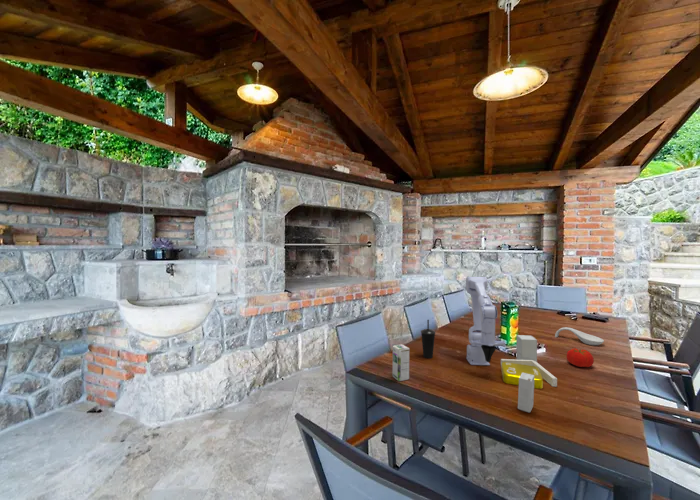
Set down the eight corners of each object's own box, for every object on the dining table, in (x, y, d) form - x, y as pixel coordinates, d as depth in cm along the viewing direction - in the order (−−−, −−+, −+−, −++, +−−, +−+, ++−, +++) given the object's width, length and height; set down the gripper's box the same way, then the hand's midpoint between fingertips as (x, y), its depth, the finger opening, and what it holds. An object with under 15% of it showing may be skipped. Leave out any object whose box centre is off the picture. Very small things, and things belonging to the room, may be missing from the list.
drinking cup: (435, 354, 163) (435, 318, 162) (435, 360, 156) (435, 322, 155) (421, 353, 166) (421, 317, 165) (420, 358, 158) (420, 321, 158)
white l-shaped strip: (518, 384, 129) (518, 377, 129) (500, 365, 149) (500, 359, 148) (556, 386, 128) (557, 378, 128) (534, 367, 147) (534, 360, 147)
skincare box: (520, 402, 116) (521, 371, 115) (534, 406, 113) (534, 374, 112) (517, 409, 111) (517, 377, 111) (531, 413, 108) (531, 380, 108)
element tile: (543, 390, 125) (543, 379, 125) (503, 384, 131) (503, 373, 131) (537, 375, 139) (537, 365, 139) (501, 370, 145) (501, 360, 145)
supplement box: (537, 365, 149) (537, 340, 149) (521, 364, 151) (521, 339, 150) (531, 359, 156) (531, 335, 156) (515, 358, 158) (516, 334, 157)
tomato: (589, 362, 152) (589, 348, 151) (596, 371, 142) (596, 355, 141) (563, 359, 156) (564, 345, 156) (568, 367, 146) (569, 352, 146)
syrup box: (391, 376, 138) (391, 345, 138) (402, 374, 141) (402, 343, 140) (398, 382, 133) (398, 349, 132) (409, 379, 135) (409, 347, 135)
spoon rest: (605, 344, 178) (605, 332, 178) (602, 349, 170) (602, 336, 170) (558, 334, 196) (558, 324, 195) (553, 339, 188) (553, 327, 187)
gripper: (474, 334, 134) (474, 364, 135) (508, 335, 133) (507, 365, 133) (469, 329, 141) (469, 357, 142) (502, 330, 140) (501, 358, 140)
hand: (487, 361), depth 138 cm, fingers closed
